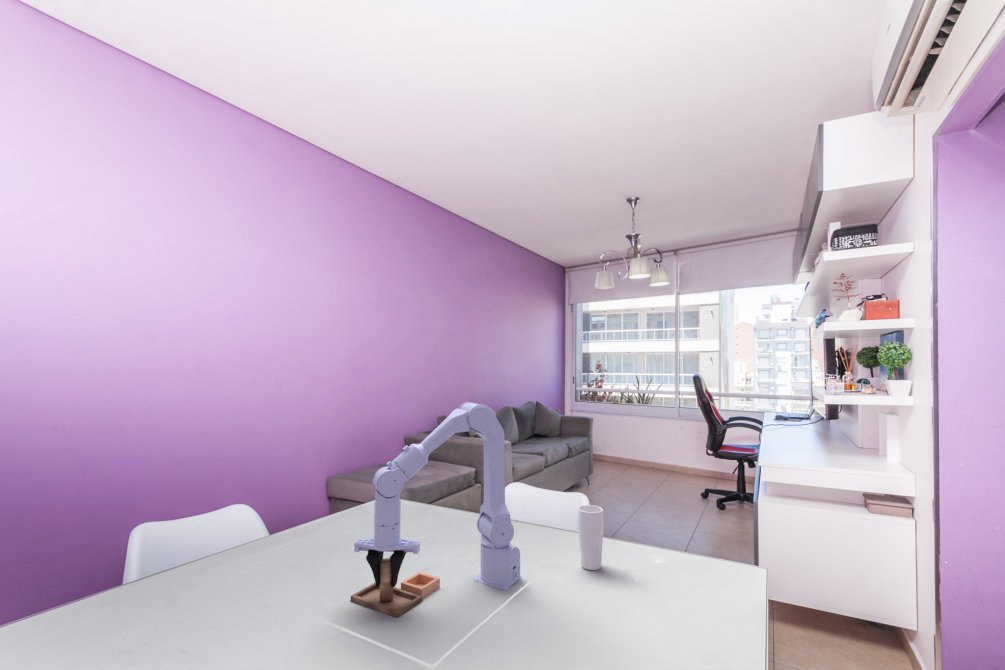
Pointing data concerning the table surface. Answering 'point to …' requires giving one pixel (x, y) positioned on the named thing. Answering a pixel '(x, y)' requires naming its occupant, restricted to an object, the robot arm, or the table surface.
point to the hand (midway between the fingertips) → (386, 584)
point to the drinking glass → (591, 536)
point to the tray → (392, 607)
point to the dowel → (385, 580)
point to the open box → (421, 584)
